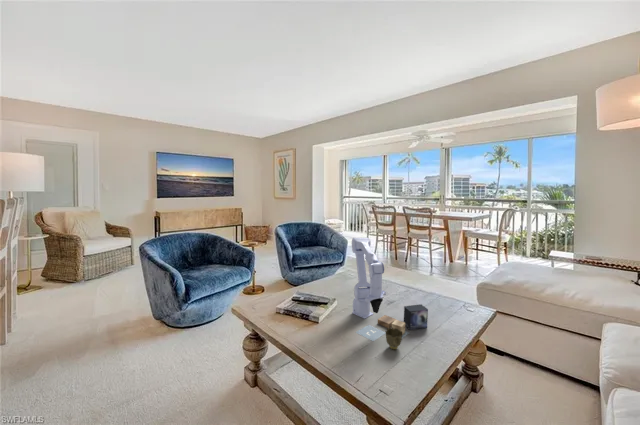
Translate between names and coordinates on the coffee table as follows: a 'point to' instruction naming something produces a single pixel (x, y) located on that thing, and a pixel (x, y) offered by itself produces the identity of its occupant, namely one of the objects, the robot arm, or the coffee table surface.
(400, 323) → the oak block
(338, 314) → the coffee table surface
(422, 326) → the small box
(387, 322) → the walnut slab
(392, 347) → the cup
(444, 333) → the coffee table surface
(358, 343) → the coffee table surface
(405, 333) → the code tile
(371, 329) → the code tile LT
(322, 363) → the coffee table surface
